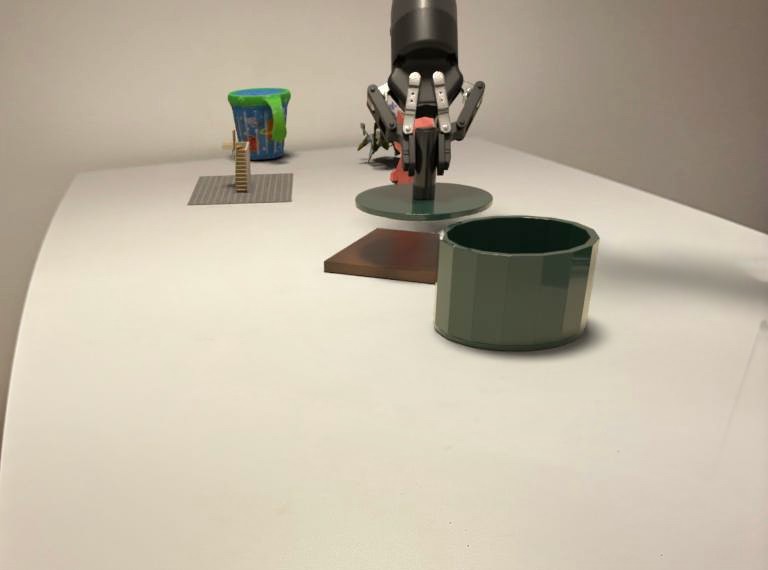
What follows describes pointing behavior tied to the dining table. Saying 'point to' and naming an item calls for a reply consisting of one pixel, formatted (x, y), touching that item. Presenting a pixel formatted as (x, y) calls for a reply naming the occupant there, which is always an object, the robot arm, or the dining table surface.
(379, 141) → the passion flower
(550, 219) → the pot
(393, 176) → the cat figurine
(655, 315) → the dining table surface
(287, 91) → the snack cup
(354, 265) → the board
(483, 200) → the lid
